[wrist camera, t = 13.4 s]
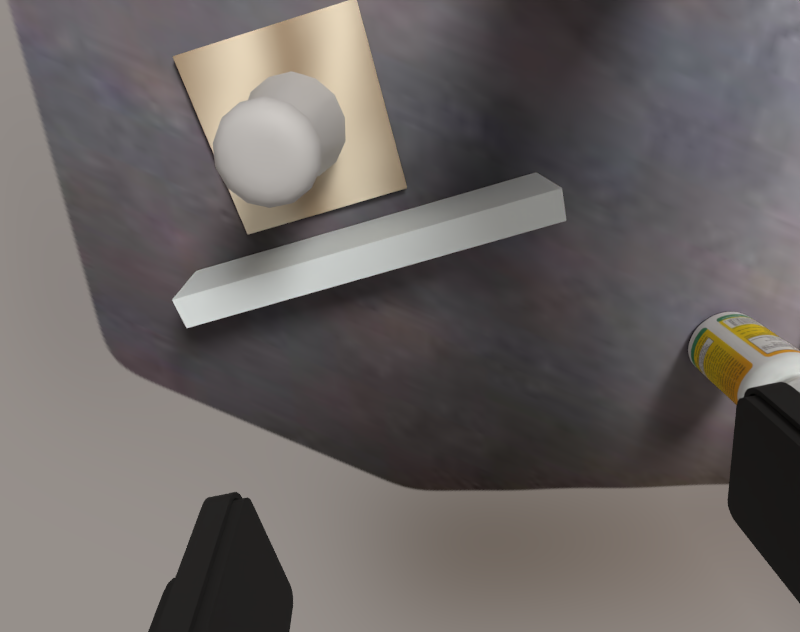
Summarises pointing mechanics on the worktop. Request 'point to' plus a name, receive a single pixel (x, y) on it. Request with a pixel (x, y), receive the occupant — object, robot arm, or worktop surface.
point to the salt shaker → (279, 140)
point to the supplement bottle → (742, 354)
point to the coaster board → (333, 67)
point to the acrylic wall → (371, 248)
